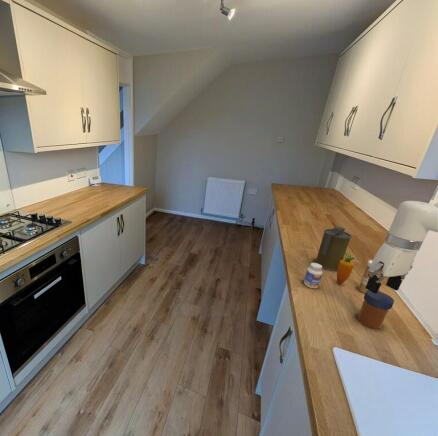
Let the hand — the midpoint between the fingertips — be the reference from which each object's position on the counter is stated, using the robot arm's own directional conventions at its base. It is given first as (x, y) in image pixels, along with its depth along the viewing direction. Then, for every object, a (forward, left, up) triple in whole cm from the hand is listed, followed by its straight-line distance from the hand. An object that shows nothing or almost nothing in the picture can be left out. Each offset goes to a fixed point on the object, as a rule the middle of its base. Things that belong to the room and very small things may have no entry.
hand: (381, 289), depth 78 cm
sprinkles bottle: (-17, -14, -14) cm, 26 cm away
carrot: (-11, -20, -14) cm, 27 cm away
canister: (-20, -34, -14) cm, 42 cm away
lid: (0, 0, -3) cm, 3 cm away
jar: (0, 0, -14) cm, 14 cm away
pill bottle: (+2, -22, -14) cm, 26 cm away
